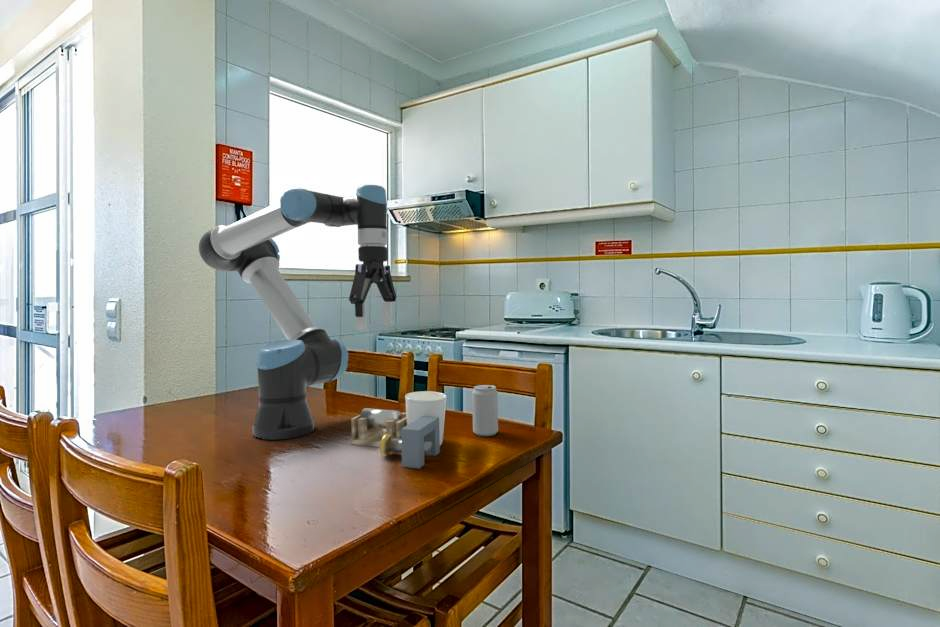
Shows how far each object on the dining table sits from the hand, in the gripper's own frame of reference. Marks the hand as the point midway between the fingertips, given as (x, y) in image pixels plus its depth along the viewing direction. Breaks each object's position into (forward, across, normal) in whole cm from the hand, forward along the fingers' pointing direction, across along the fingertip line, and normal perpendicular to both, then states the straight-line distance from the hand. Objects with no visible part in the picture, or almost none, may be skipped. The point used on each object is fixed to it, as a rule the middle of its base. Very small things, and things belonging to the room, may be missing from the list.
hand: (375, 327), depth 136 cm
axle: (+21, -9, -6) cm, 24 cm away
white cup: (+27, -8, -17) cm, 34 cm away
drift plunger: (+27, -19, -18) cm, 37 cm away
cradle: (+27, -9, -7) cm, 29 cm away
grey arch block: (+27, -19, -22) cm, 39 cm away
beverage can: (+27, +3, -29) cm, 40 cm away
